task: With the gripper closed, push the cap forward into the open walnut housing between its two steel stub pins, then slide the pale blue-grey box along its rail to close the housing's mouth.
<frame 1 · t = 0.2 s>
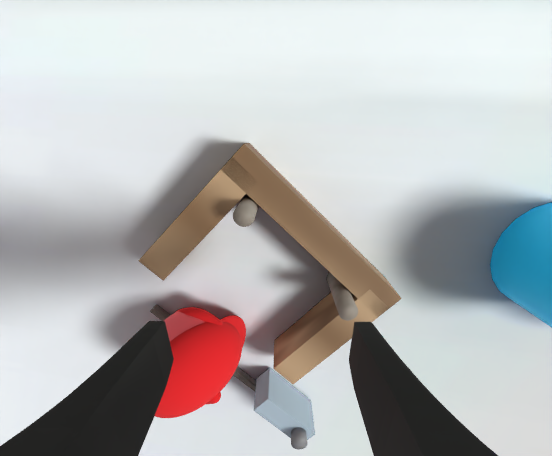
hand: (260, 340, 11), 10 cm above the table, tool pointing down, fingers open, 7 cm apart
pale blue-grey box: (284, 409, 23), point 2 cm above the table, slide at 0.0 cm
cap: (200, 334, 23), on the table, touching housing
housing: (259, 274, 22), on the table
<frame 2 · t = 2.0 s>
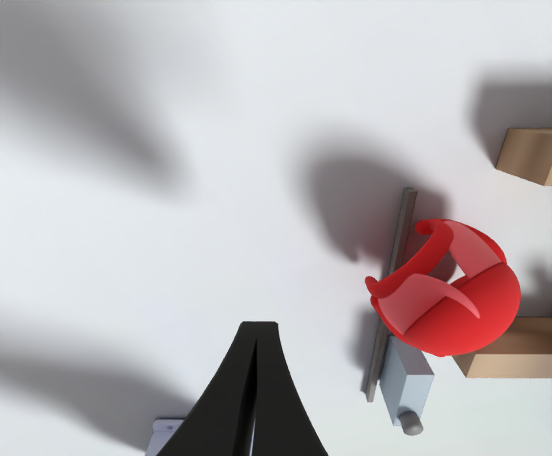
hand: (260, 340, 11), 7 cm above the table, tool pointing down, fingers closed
pale blue-grey box: (405, 385, 19), point 2 cm above the table, slide at 0.0 cm
cap: (409, 258, 17), on the table, touching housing
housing: (528, 252, 17), on the table
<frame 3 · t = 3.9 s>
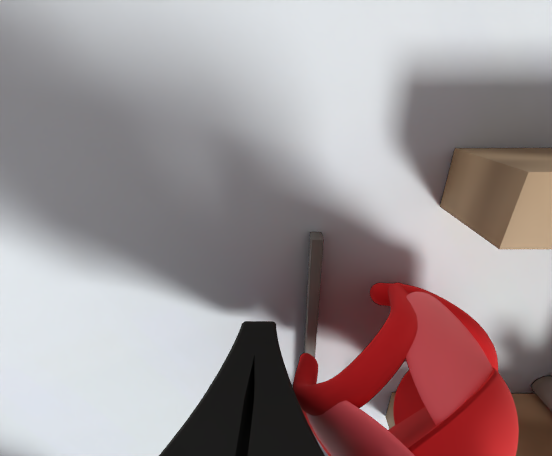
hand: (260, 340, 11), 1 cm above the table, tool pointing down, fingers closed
cap: (364, 329, 12), on the table, touching gripper
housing: (494, 316, 12), on the table
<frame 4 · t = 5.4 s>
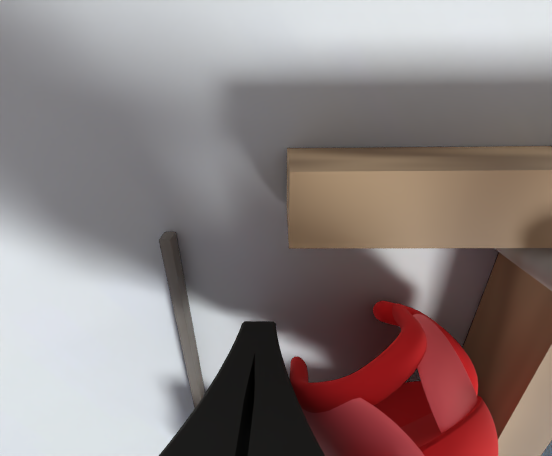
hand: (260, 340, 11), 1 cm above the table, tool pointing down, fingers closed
cap: (355, 344, 13), on the table, touching gripper
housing: (368, 315, 12), on the table
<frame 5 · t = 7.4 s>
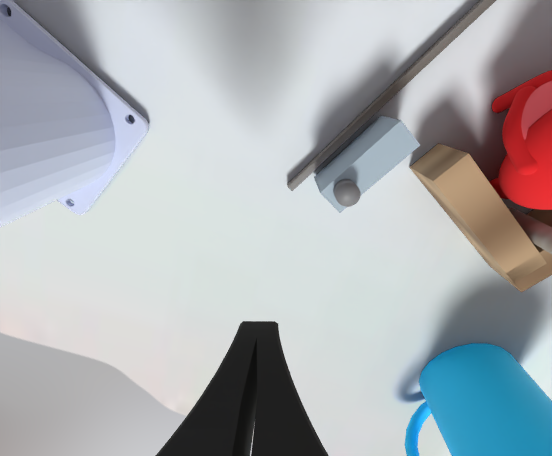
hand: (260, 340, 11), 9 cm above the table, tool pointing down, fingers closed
pale blue-grey box: (362, 164, 15), point 2 cm above the table, slide at 0.0 cm
mug: (445, 383, 26), on the table
cap: (517, 135, 17), on the table
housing: (549, 124, 16), on the table
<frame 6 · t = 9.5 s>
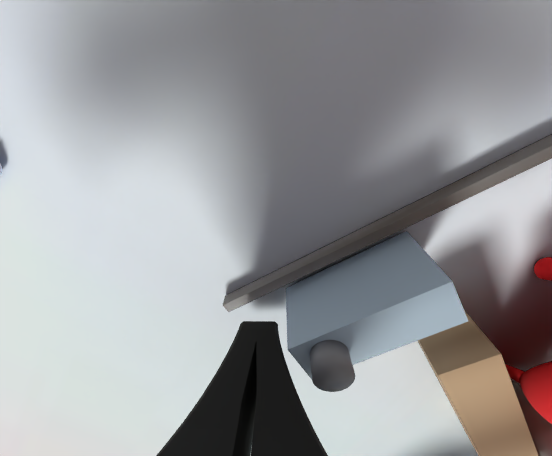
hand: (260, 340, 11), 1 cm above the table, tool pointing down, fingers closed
pale blue-grey box: (364, 309, 9), point 2 cm above the table, slide at 0.9 cm, touching gripper
cap: (551, 303, 12), on the table
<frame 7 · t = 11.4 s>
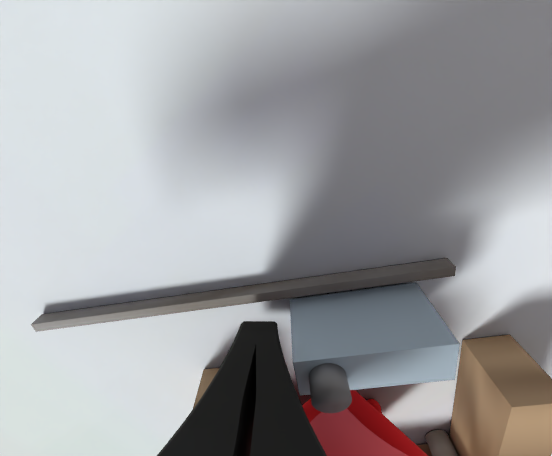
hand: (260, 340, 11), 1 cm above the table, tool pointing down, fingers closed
pale blue-grey box: (365, 343, 10), point 2 cm above the table, slide at 9.3 cm, touching gripper
cap: (325, 392, 15), on the table
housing: (354, 400, 15), on the table
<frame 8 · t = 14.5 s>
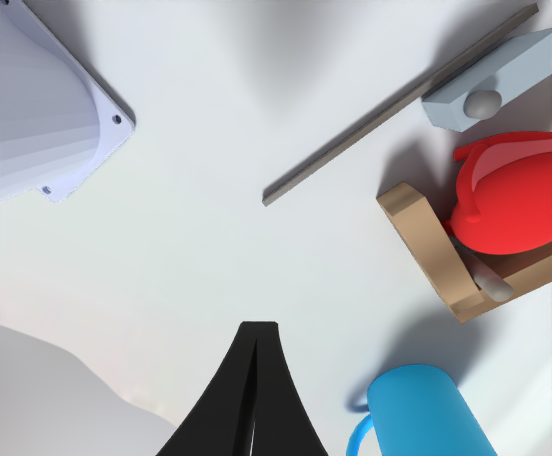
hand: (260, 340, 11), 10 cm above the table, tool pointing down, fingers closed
pale blue-grey box: (492, 83, 14), point 2 cm above the table, slide at 9.3 cm
mug: (390, 398, 28), on the table
cap: (474, 183, 19), on the table
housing: (500, 177, 18), on the table
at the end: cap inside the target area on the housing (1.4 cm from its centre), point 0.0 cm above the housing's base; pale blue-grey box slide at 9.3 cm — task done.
